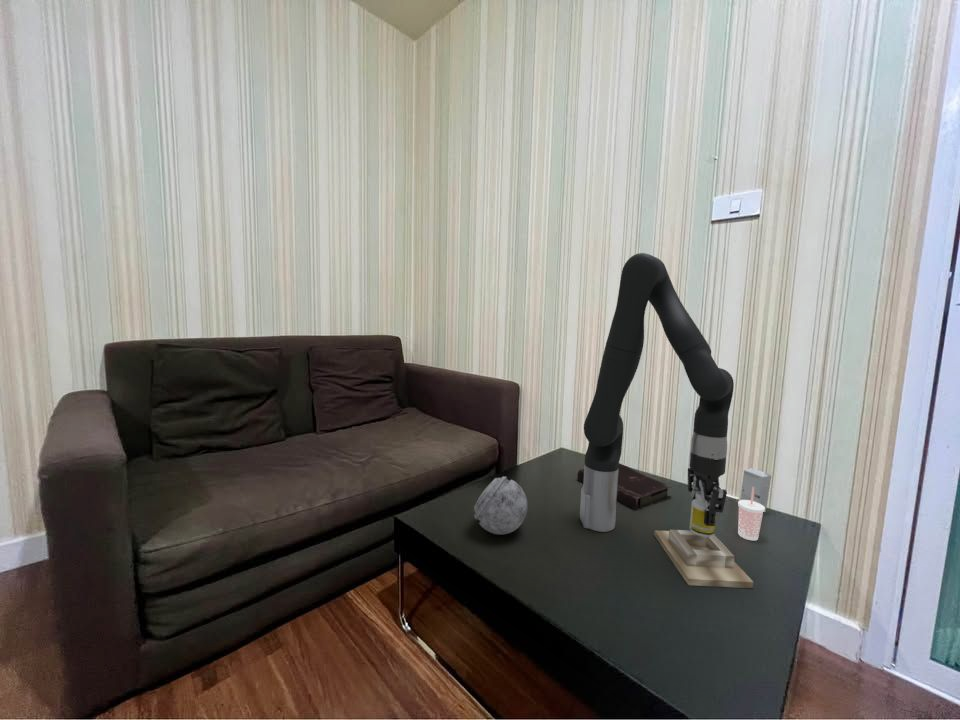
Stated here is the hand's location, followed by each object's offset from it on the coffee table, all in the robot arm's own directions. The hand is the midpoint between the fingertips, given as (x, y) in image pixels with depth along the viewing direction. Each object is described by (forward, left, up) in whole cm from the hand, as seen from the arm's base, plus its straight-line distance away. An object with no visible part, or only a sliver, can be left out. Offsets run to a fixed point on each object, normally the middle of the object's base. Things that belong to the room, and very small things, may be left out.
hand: (702, 518), depth 99 cm
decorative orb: (-49, +9, -11) cm, 51 cm away
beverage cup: (+19, +12, -11) cm, 25 cm away
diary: (-7, +39, -11) cm, 41 cm away
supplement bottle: (0, 0, -4) cm, 4 cm away
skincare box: (+30, +28, -11) cm, 42 cm away
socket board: (0, 0, -11) cm, 11 cm away
